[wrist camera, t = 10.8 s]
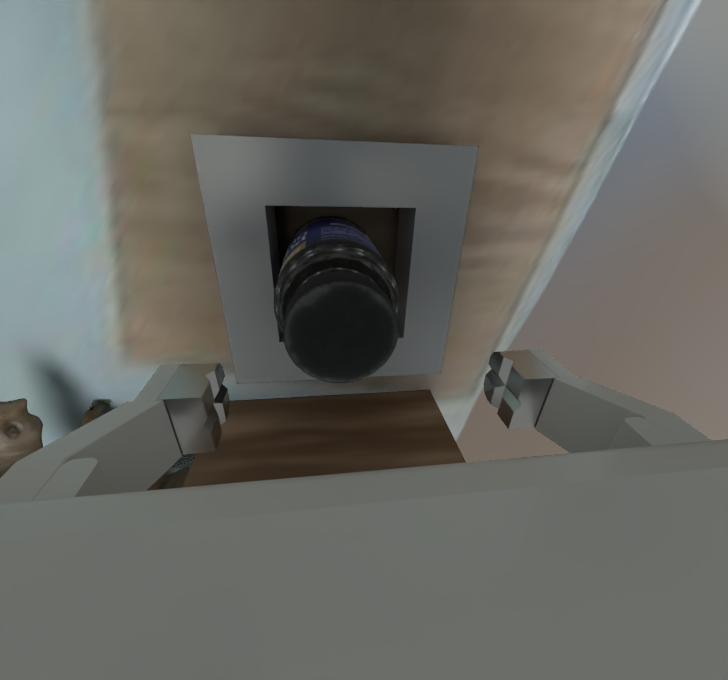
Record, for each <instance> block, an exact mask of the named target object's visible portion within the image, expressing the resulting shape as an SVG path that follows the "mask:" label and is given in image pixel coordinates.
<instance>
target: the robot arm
mask: <svg viewBox="0 0 728 680" xmlns="http://www.w3.org/2000/svg"><path fill="white" fill-rule="evenodd" d="M489 365H490V367H491V370H490V371H489V372H488V373H487V374H486V376H485V380H484V392H485V395H486V398H487V399H488V401H489V403H490V404H491V405H493V406H495V407H497V408H498V413H497V414H498V415H499V417H500V418H501V420H502V421H503V422H504V424H505V425H506V426H507V428H508V429H522V428H535V429H536V430H537V431H538V432H540V433H541V434H543V435H544V436H546V437H547V438H549V439H550V440H552V441H553V442H555V443H556V444H558V445H559V446H561V447H562V448H564V449H565V450H567V451H568V452H569V453H567V454H555V455H544V456H533V457H522V458H511V459H499V460H487V461H477V462H464V463H453V464H442V465H431V466H420V467H409V468H398V469H386V470H375V471H364V472H353V473H342V474H330V475H319V476H308V477H296V478H285V479H274V480H262V481H251V482H240V483H228V484H217V485H206V486H194V487H183V488H172V489H160V490H149V491H146V490H147V489H148V488H150V487H151V486H152V485H153V484H154V483H155V482H156V481H157V480H158V479H159V478H160V477H161V476H162V475H163V474H164V473H165V472H166V471H167V470H168V469H169V468H171V467H172V466H173V465H174V464H175V463H176V462H177V461H178V460H179V459H180V458H181V457H182V455H186V454H195V453H205V452H215V451H216V450H217V447H218V444H219V441H220V438H221V435H222V429H221V425H222V424H223V423H224V422H226V420H227V417H228V413H229V394H228V389H227V388H226V387H225V386H223V385H222V382H223V379H224V377H225V375H224V371H223V367H222V366H221V364H220V363H217V364H183V365H181V364H175V365H163V366H160V367H159V368H158V369H157V371H156V372H155V373H154V375H153V376H152V377H151V379H150V380H149V381H148V383H147V384H146V386H145V387H144V388H143V390H142V391H141V392H140V394H139V395H138V396H137V398H136V399H135V400H134V402H126V403H125V404H123V405H121V406H119V407H117V408H115V409H113V410H112V411H110V412H108V413H106V414H104V415H102V416H100V417H99V418H97V419H95V420H93V421H91V422H89V423H87V424H86V425H84V426H82V427H80V428H78V429H76V430H74V431H73V432H71V433H69V434H67V435H65V436H63V437H61V438H60V439H58V440H56V441H54V442H52V443H50V444H48V445H47V446H45V447H43V448H41V449H39V450H37V451H35V452H34V453H32V454H30V455H28V456H26V457H24V458H22V459H21V460H19V461H17V462H16V463H15V464H14V465H13V466H12V467H11V468H10V469H9V470H8V471H7V472H6V473H5V474H4V475H3V476H2V477H1V478H0V680H728V439H724V440H711V439H709V438H708V437H706V436H705V435H704V434H702V433H701V432H699V431H698V430H697V429H695V428H694V427H692V426H691V425H690V424H688V423H687V422H686V421H684V420H683V419H681V418H680V417H679V416H677V415H676V414H675V413H672V412H670V411H667V410H664V409H661V408H659V407H657V406H654V405H652V404H649V403H646V402H644V401H641V400H639V399H636V398H633V397H631V396H628V395H626V394H623V393H621V392H618V391H616V390H613V389H610V388H608V387H605V386H603V385H600V384H597V383H595V382H592V381H589V380H587V379H584V378H582V377H575V376H573V374H571V373H570V372H569V371H568V370H567V369H565V368H564V367H563V366H562V365H561V364H560V363H558V362H557V361H556V360H555V359H553V358H552V357H551V356H550V355H549V354H548V353H547V352H545V351H544V350H541V349H530V350H519V351H503V352H493V354H492V355H491V357H490V360H489Z"/></svg>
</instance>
